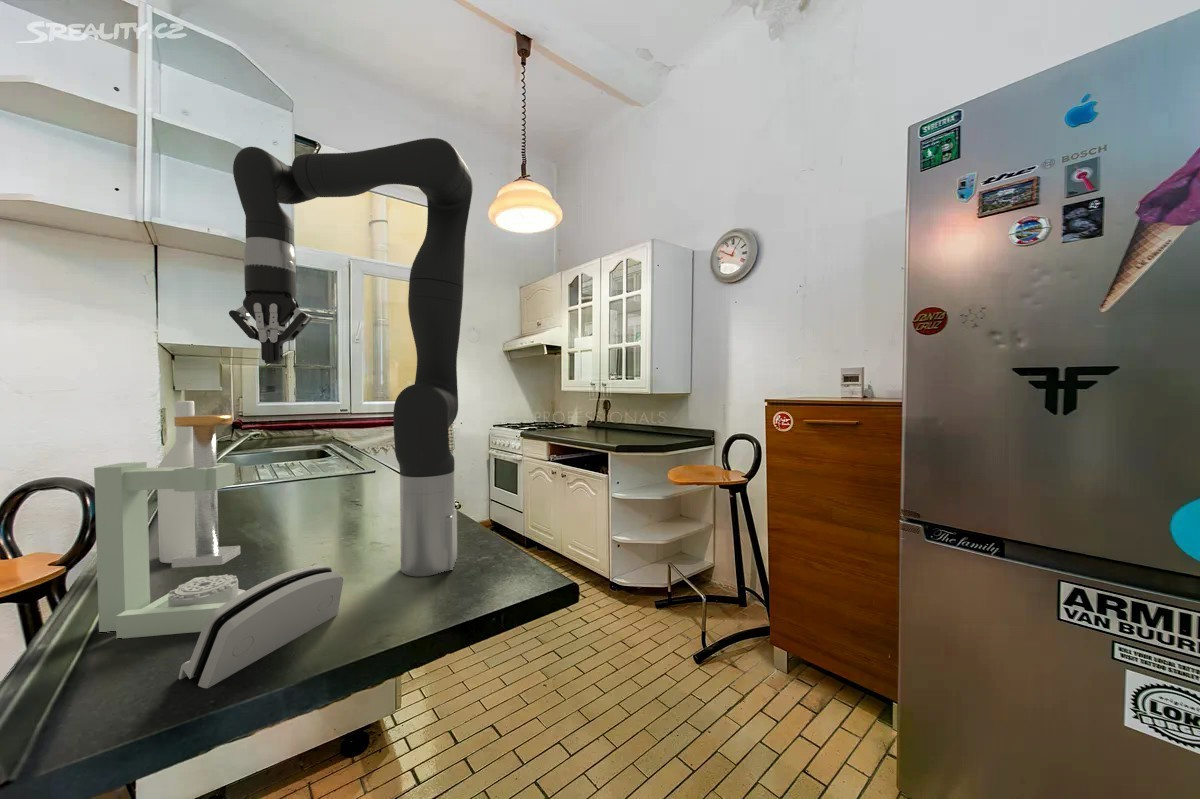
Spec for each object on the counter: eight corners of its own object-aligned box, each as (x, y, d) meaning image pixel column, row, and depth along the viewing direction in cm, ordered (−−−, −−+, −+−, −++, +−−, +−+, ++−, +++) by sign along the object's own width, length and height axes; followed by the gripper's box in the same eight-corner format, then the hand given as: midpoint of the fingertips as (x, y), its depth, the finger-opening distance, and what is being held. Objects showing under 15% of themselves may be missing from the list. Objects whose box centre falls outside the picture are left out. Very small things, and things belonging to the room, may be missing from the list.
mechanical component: (137, 627, 60) (188, 638, 57) (136, 595, 60) (188, 605, 57) (218, 594, 69) (265, 602, 67) (217, 566, 69) (265, 574, 67)
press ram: (244, 551, 65) (241, 414, 65) (217, 567, 59) (213, 417, 59) (198, 553, 64) (195, 415, 64) (165, 570, 58) (162, 417, 58)
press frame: (305, 582, 73) (303, 451, 73) (255, 626, 59) (252, 465, 59) (170, 591, 70) (166, 454, 69) (84, 641, 56) (79, 470, 55)
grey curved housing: (312, 608, 65) (329, 547, 63) (336, 623, 63) (353, 562, 62) (173, 680, 49) (192, 601, 47) (201, 703, 47) (221, 622, 46)
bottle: (147, 561, 82) (143, 401, 81) (195, 546, 90) (192, 400, 89) (180, 565, 80) (176, 401, 79) (227, 549, 88) (223, 400, 87)
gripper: (320, 275, 84) (321, 365, 85) (242, 271, 82) (243, 364, 82) (301, 264, 77) (302, 363, 78) (215, 260, 75) (217, 362, 75)
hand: (272, 363), depth 80 cm, fingers closed
